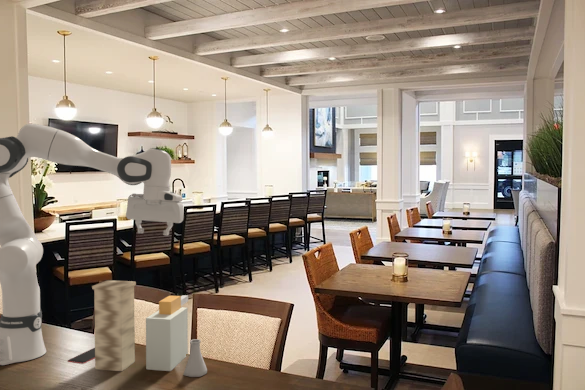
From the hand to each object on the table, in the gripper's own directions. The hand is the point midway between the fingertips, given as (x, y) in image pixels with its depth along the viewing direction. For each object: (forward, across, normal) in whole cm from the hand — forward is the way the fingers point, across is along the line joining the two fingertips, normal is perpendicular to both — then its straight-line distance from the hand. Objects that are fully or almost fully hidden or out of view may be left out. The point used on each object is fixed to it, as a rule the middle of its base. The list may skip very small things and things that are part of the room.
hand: (153, 234), depth 178 cm
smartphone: (+42, -14, -11) cm, 45 cm away
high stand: (+41, -2, -18) cm, 45 cm away
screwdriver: (+23, +13, -7) cm, 27 cm away
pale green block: (+40, +14, -12) cm, 44 cm away
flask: (+40, +25, -20) cm, 51 cm away
